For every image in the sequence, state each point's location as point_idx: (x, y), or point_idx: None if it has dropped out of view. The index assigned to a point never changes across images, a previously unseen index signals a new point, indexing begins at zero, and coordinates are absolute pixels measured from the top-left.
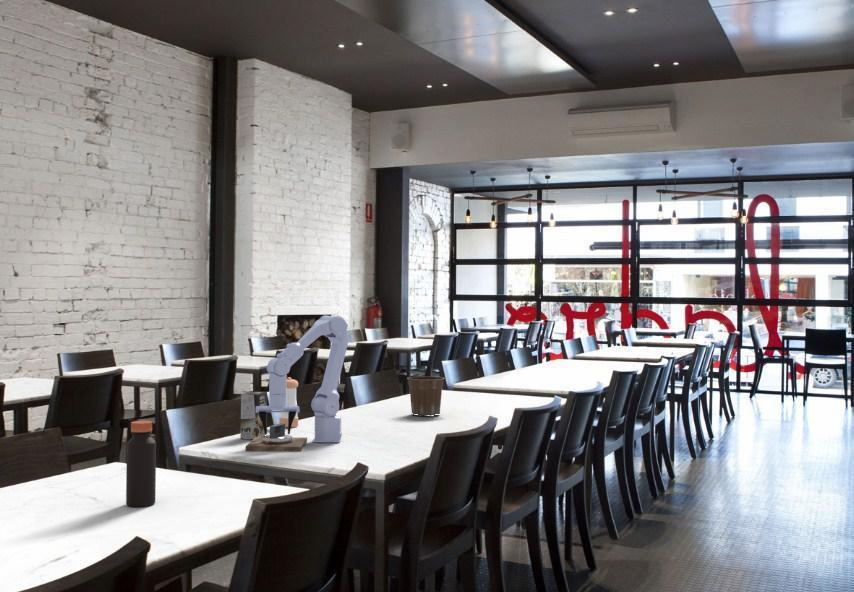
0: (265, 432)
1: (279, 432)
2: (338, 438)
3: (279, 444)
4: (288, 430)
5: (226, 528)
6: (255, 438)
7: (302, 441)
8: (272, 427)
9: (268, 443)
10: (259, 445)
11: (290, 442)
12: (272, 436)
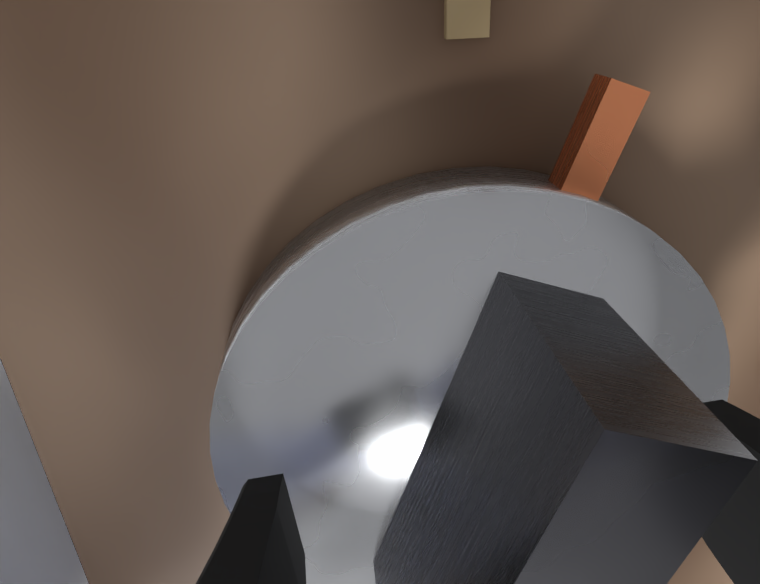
0: (736, 414)
1: (452, 481)
2: None
3: (379, 164)
4: (257, 525)
5: None
6: None
7: (74, 465)
8: (664, 422)
9: None
10: (742, 14)
11: None
12: (562, 301)
